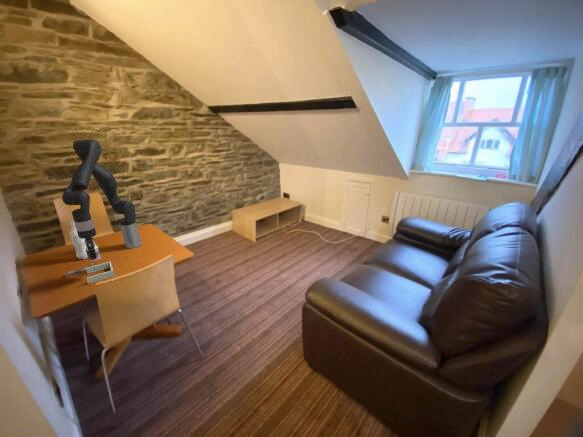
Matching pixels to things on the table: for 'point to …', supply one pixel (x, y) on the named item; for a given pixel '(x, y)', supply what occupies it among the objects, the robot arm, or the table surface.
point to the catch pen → (102, 275)
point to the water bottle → (78, 242)
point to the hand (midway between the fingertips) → (94, 255)
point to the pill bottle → (95, 252)
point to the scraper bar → (77, 271)
